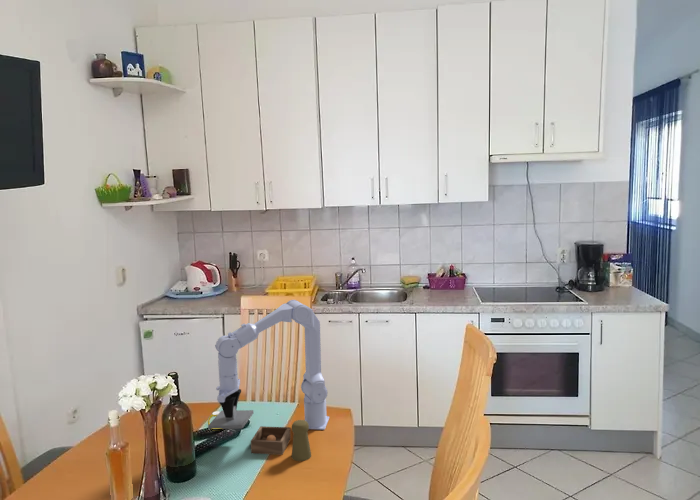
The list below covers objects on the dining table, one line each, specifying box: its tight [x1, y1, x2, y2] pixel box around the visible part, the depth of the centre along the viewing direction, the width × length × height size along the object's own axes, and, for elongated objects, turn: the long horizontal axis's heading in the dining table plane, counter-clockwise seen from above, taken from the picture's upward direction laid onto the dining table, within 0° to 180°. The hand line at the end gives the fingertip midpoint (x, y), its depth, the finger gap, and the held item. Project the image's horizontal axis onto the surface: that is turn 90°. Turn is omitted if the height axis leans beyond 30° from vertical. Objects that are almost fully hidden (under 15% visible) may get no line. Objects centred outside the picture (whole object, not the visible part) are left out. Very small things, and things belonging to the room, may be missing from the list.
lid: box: [207, 406, 254, 430], centre depth 169 cm, size 11×11×4 cm
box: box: [250, 425, 292, 456], centre depth 168 cm, size 10×10×4 cm
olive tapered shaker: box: [291, 419, 312, 462], centre depth 161 cm, size 6×6×11 cm
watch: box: [207, 410, 221, 426], centre depth 181 cm, size 6×3×6 cm, turn 98°
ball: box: [266, 435, 276, 441], centre depth 168 cm, size 3×3×3 cm
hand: (230, 414), depth 169 cm, fingers closed on lid, 3 cm apart
